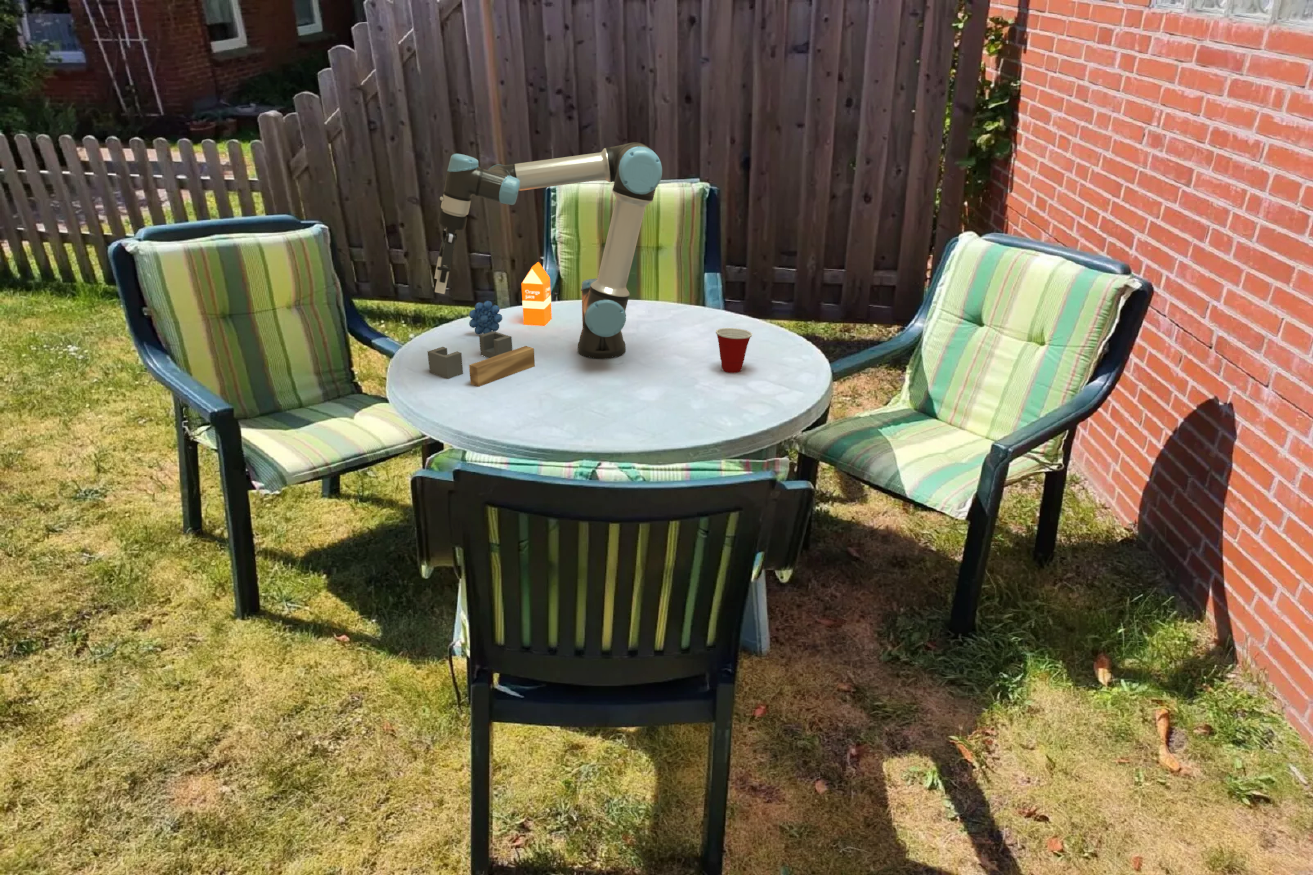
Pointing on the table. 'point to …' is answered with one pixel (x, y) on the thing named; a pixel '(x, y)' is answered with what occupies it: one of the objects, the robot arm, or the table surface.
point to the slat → (501, 366)
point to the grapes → (485, 318)
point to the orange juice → (536, 297)
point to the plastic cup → (732, 348)
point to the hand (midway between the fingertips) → (439, 285)
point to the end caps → (452, 362)
